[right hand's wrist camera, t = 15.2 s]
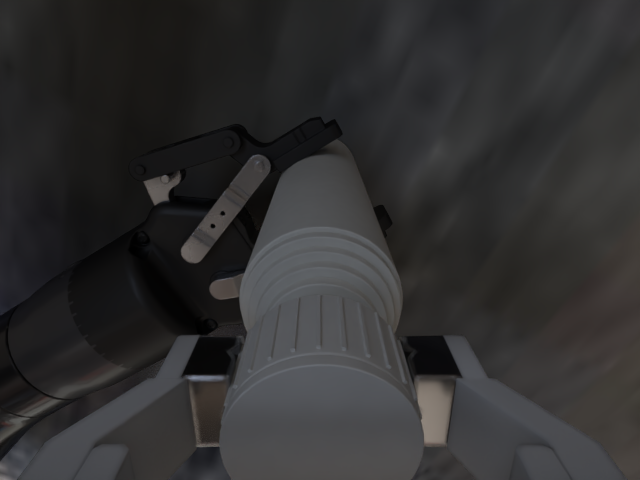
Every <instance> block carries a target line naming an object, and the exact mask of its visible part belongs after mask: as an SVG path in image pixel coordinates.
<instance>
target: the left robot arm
mask: <svg viewBox="0 0 640 480" xmlns="http://www.w3.org/2000/svg"><path fill="white" fill-rule="evenodd" d="M341 135H342V131H341V129H340V127H339V125H338V124H337V122H336V120H335V119H334V120H331V121H330V122H328V123H326V124H324V122H323V120H322V119H321V117H315V118H310V119H308V120H307V121H305V122H303V123H302V124H300V125H299V126H297V127H295V128H294V129H292V130H291V131H289V132H287V133H286V134H284V135H282V136H281V137H279V138H278V139H276V140H274V141H273V142H270V143H261V142H259V141H257V140H256V139H254V138H253V137H252V136H251V135H249V134H248V132H247V130H246V129H245V128H244V127H243V126H242V125H239V124H234V125H230V126H227V127H224V128H221V129H218V130H215V131H211V132H208V133H205V134H202V135H199V136H196V137H192V138H189V139H186V140H183V141H180V142H177V143H174V144H170V145H167V146H164V147H161V148H158V149H155V150H152V151H150V152H148V153H145V154H143V155H141V156H139V157H137V158H135V159H133V160H132V161H131V162H130V164H129V172H130V174H131V176H132V177H133V178H134V179H136V180H138V181H143V182H144V184H145V186H146V188H147V191H148V193H149V195H150V197H151V199H152V201H153V204H154V207H153V208H152V209H151V211H150V213H149V215H148V218H147V219H146V221H145V222H143V223H142V224H140V225H138V226H137V227H135V228H134V229H132V230H130V231H129V232H127V233H126V234H124V235H122V236H121V237H119V238H117V239H116V240H114V241H113V242H111V243H109V244H108V245H106V246H104V247H103V248H101V249H100V250H98V251H96V252H95V253H93V254H91V255H90V256H88V257H87V258H85V259H83V260H80V261H78V262H75V263H74V264H72V265H70V266H69V267H68V268H67V269H66V271H64V272H62V273H61V274H59V275H58V276H56V277H54V278H53V279H51V280H50V281H48V282H47V283H46V284H45V285H43V286H42V287H41V288H40V289H39V290H37V291H36V292H35V293H34V294H33V295H32V296H31V297H29V298H28V299H26V300H25V301H23V302H22V303H20V304H18V305H17V306H15V307H14V308H12V309H10V310H9V311H7V312H5V313H4V314H2V315H1V316H0V461H1V460H2V459H3V458H4V456H5V455H6V454H7V453H8V452H9V451H10V450H11V449H12V448H13V446H14V445H15V444H16V443H17V442H18V441H19V439H20V438H21V437H22V436H23V435H24V434H25V433H26V432H27V431H28V430H29V429H30V428H31V427H32V426H34V425H35V424H37V423H38V422H39V421H41V420H42V419H44V418H45V417H47V416H49V415H50V414H52V413H54V412H56V411H57V410H59V409H61V408H63V407H65V406H67V405H69V404H70V403H72V402H74V401H76V400H78V399H80V398H82V397H83V396H86V395H88V394H90V393H92V392H95V391H98V390H101V389H104V388H106V387H109V386H112V385H114V384H116V383H118V382H120V381H122V380H124V379H126V378H128V377H130V376H131V375H133V374H135V373H137V372H139V371H141V370H143V369H145V368H146V367H148V366H150V365H152V364H154V363H156V362H158V361H160V360H161V359H163V358H165V357H167V355H168V353H169V351H170V349H171V347H172V346H173V344H174V342H175V340H176V338H177V337H178V336H180V335H207V334H209V333H211V332H212V331H214V330H215V329H217V328H218V327H221V326H225V325H238V324H242V323H244V322H243V318H242V314H241V310H240V301H239V296H240V287H241V282H242V279H243V276H244V273H245V270H246V268H247V265H248V262H249V260H250V257H251V254H252V252H253V249H254V246H255V243H256V241H257V238H258V235H259V232H258V231H257V230H256V229H255V226H254V224H253V221H252V218H251V216H250V214H249V213H248V211H247V210H246V209H245V207H244V205H245V204H246V202H247V201H248V199H249V198H250V197H251V195H252V194H253V193H254V192H255V190H256V189H257V188H258V187H259V185H260V184H261V183H262V181H263V180H264V179H265V178H266V176H267V175H269V174H270V173H272V172H274V171H275V170H277V169H278V171H279V172H280V173H281V172H283V171H284V170H286V169H288V168H289V167H291V166H292V165H293V164H295V163H297V162H298V161H301V160H303V159H304V158H306V157H308V156H309V155H311V154H312V153H314V152H316V151H317V150H319V149H321V148H322V147H324V146H326V145H327V144H329V143H331V142H332V141H334V140H336V139H337V138H339V137H340V136H341ZM228 155H230V156H231V157H232V158H234V159H235V160H236V161H238V162H239V163H240V164H241V165H243V166H244V167H243V168H242V169H241V170H240V172H239V173H238V174H237V176H236V177H235V178H234V180H233V181H232V182H231V184H230V185H229V186H228V187H227V189H226V190H225V191H224V193H223V194H222V195H221V197H220V198H219V199H207V198H195V197H184V196H175V195H174V188H175V186H176V185H178V184H179V183H180V182H181V181H183V180H184V178H185V176H186V170H185V169H186V168H189V167H192V166H195V165H199V164H202V163H205V162H208V161H212V160H215V159H218V158H221V157H225V156H228ZM373 210H374V212H375V215H376V217H377V220H378V223H379V225H380V228H381V231H382V233H383V236H384V238H385V237H386V236H387V235H386V232H385V230H386V229H388V228H389V227H390V226H391V225H392V221H391V219H390V217H389V215H388V213H387V211H386V210H385V208H384V206H383V205H379V206H376V207H374V208H373Z"/></svg>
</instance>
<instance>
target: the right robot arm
mask: <svg viewBox="0 0 640 480" xmlns="http://www.w3.org/2000/svg"><path fill="white" fill-rule="evenodd" d="M398 340H400V342H401V345H402V348H403V351H404V355H405V358H406V361H407V365H408V368H409V372H410V375H411V378H412V382H413V385H414V388H415V392H416V395H417V398H418V404H419V408H420V411H421V414H422V420H421V423H422V427H423V432H424V446H426V447H447V450H448V451H449V452H450V453H451V454H452V455H453V456H454V457H455V458H456V459H457V460H458V461H459V462H460V463H461V464H462V465H463V467H464V468H465V469H466V470H467V471H468V472H469V473H470V474H471V475H472V476H473V477H474V478H475V479H476V480H627V478H626V477H625V476H624V474H623V473H622V472H621V470H620V469H619V468H618V466H617V465H616V464H615V462H614V461H613V460H612V458H611V457H610V456H609V454H608V453H607V452H606V450H605V449H604V448H603V446H602V445H601V444H600V442H598V441H596V440H595V439H593V438H591V437H590V436H588V435H587V434H585V433H583V432H582V431H580V430H578V429H577V428H575V427H574V426H572V425H570V424H569V423H567V422H565V421H564V420H562V419H560V418H559V417H557V416H556V415H554V414H552V413H551V412H549V411H547V410H546V409H544V408H543V407H541V406H539V405H538V404H536V403H534V402H533V401H531V400H529V399H528V398H526V397H525V396H523V395H521V394H520V393H518V392H516V391H515V390H513V389H512V388H510V387H508V386H507V385H505V384H503V383H502V382H500V381H498V380H497V379H495V378H488V376H487V374H486V373H485V371H484V369H483V367H482V366H481V364H480V362H479V360H478V358H477V357H476V355H475V353H474V351H473V350H472V348H471V346H470V344H469V342H468V341H467V339H466V337H465V336H463V335H441V336H399V339H398ZM244 343H245V339H244V337H243V336H225V335H180V336H178V337H177V338H176V340H175V342H174V344H173V346H172V347H171V349H170V351H169V353H168V355H167V357H166V358H165V360H164V362H163V364H162V366H161V368H160V370H159V371H158V373H157V375H156V377H155V378H148V379H147V380H145V381H143V382H142V383H140V384H138V385H137V386H135V387H134V388H132V389H130V390H129V391H127V392H125V393H124V394H122V395H121V396H119V397H117V398H116V399H114V400H112V401H111V402H109V403H108V404H106V405H104V406H103V407H101V408H99V409H98V410H96V411H95V412H93V413H91V414H90V415H88V416H86V417H85V418H83V419H82V420H80V421H78V422H77V423H75V424H73V425H72V426H70V427H69V428H67V429H65V430H64V431H62V432H60V433H59V434H57V435H56V436H54V437H52V438H51V439H49V440H47V441H46V442H45V443H44V444H43V446H42V447H41V448H40V450H39V451H38V452H37V454H36V455H35V456H34V458H33V459H32V460H31V462H30V463H29V465H28V466H27V467H26V469H25V470H24V471H23V473H22V474H21V475H20V477H19V478H18V479H17V480H168V479H169V478H170V477H171V475H172V474H173V473H174V472H175V471H176V470H177V469H178V468H179V467H180V466H181V465H182V464H183V463H184V462H185V461H186V460H187V459H188V458H189V457H190V456H191V455H192V453H193V452H194V451H195V450H196V447H217V446H220V444H219V439H220V430H221V426H222V425H221V420H222V416H223V413H224V409H225V406H224V403H225V399H226V396H227V392H228V389H229V387H230V385H231V382H232V379H233V375H234V372H235V369H236V361H237V357H238V354H239V353H240V351H241V347H242V344H243V345H244Z"/></svg>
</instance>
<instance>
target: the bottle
mask: <svg viewBox="0 0 640 480" xmlns="http://www.w3.org/2000/svg"><path fill="white" fill-rule="evenodd" d="M310 295H333V296H341V297H344V298H348V299H351V300H354V301H356V302H360V303H362V304H363V305H365V306H367V307H368V308H370V309H371V310H373V311H374V312H377V313H379V316H380V317H381V318H382V319H384V320H385V321H386V323H387V324H388V325H391V326H392V328H393V332H394V333H395V331H396V329H397V326H398V323H399V319H400V315H401V310H402V304H403V292H402V285H401V281H400V278H399V275H398V272H397V270H396V267H395V265H394V262H393V259H392V257H391V254H390V251H389V249H388V246H387V244H386V241H385V238H384V236H383V233H382V231H381V228H380V225H379V223H378V220H377V217H376V215H375V212H374V210H373V207H372V204H371V202H370V199H369V197H368V194H367V191H366V189H365V186H364V183H363V181H362V178H361V176H360V173H359V170H358V168H357V165H356V163H355V160H354V157H353V155H352V153H351V151H350V150H349V149H348V147H347V146H346V145H345V144H343V143H342V142H341V141H339V140H338V139H336V140H334V141H332V142H331V143H329V144H327V145H326V146H324V147H322V148H321V149H319V150H317V151H316V152H314V153H312V154H311V155H309V156H308V157H306V158H304V159H303V160H301V161H298V162H297V163H295V164H293V165H292V166H291V167H289V168H288V169H286V170H284V171H283V172H282V173H281V176H280V179H279V181H278V184H277V187H276V190H275V192H274V195H273V198H272V200H271V203H270V206H269V208H268V211H267V214H266V217H265V219H264V222H263V225H262V227H261V230H260V233H259V235H258V238H257V241H256V243H255V246H254V249H253V252H252V254H251V257H250V260H249V262H248V265H247V268H246V270H245V273H244V276H243V279H242V282H241V287H240V296H239V301H240V310H241V314H242V318H243V322H244V326H245V328H246V331H247V333H248V330H249V329H252V328H253V326H254V325H255V324H256V323H257V321H258V320H259V319H260V317H261V316H262V315H263V316H264V315H265V314H266V313H267V312H269V311H270V310H272V309H273V308H275V307H276V306H277V305H279V304H282V303H284V302H286V301H289V300H292V299H295V298H298V297H303V296H310Z"/></svg>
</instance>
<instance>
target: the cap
mask: <svg viewBox="0 0 640 480" xmlns="http://www.w3.org/2000/svg"><path fill="white" fill-rule="evenodd" d="M224 406H225V409H224V413H223V416H222V420H221V425H222V426H221V430H220V439H219V444H220V453H221V457H222V461H223V464H224V466H225V468H226V470H227V472H228V474H229V476H230V477H231V479H232V480H411V479H412V478H413V476H414V475H415V473H416V471H417V469H418V467H419V465H420V462H421V459H422V456H423V450H424V432H423V427H422V423H421V420H422V414H421V411H420V408H419V404H418V398H417V395H416V392H415V388H414V385H413V382H412V378H411V375H410V372H409V368H408V365H407V361H406V358H405V355H404V351H403V348H402V345H401V342H400V340H397V338H396V336H395V334H394V332H393V328H392V326H391V325H388V324H387V323H386V321H385V320H384V319H382V318H381V317H380V316H379V313H377V312H374V311H373V310H371V309H370V308H368V307H367V306H365V305H363V304H362V303H360V302H356V301H354V300H351V299H348V298H344V297H341V296H333V295H310V296H303V297H298V298H295V299H292V300H289V301H286V302H284V303H282V304H279V305H277V306H276V307H275V308H273V309H272V310H270V311H269V312H267V313H266V314H265V315H264V316H263V315H262V316H261V317H260V319H259V320H258V321H257V323H256V324H255V325H254V326H253V328H252V329H249V330H248V333H247V336H246V340H245V343H244V345H243V344H242V347H241V351H240V353H239V354H238V357H237V361H236V369H235V372H234V375H233V379H232V382H231V385H230V387H229V389H228V392H227V396H226V399H225V403H224Z"/></svg>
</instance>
